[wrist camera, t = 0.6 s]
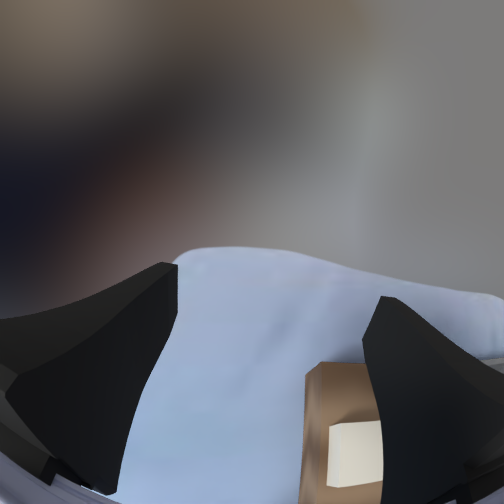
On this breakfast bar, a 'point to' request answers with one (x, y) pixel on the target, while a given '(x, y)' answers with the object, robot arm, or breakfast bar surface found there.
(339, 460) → the cream tile
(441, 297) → the breakfast bar surface
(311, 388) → the tan wooden board
